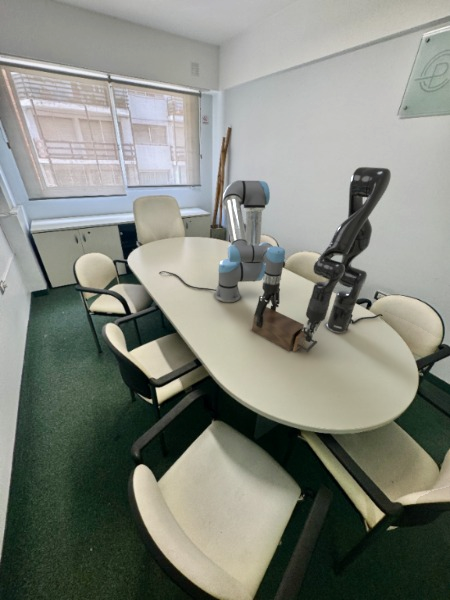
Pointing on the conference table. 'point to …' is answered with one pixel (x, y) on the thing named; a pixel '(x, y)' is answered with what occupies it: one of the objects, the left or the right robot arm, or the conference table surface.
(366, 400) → the conference table surface
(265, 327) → the cabinet
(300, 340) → the drawer
